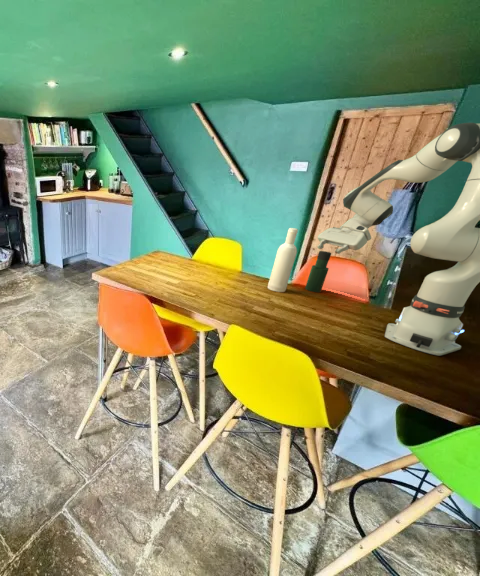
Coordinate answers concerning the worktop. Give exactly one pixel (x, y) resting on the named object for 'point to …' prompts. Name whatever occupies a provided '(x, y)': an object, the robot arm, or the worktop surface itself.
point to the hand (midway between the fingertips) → (327, 250)
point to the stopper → (324, 255)
